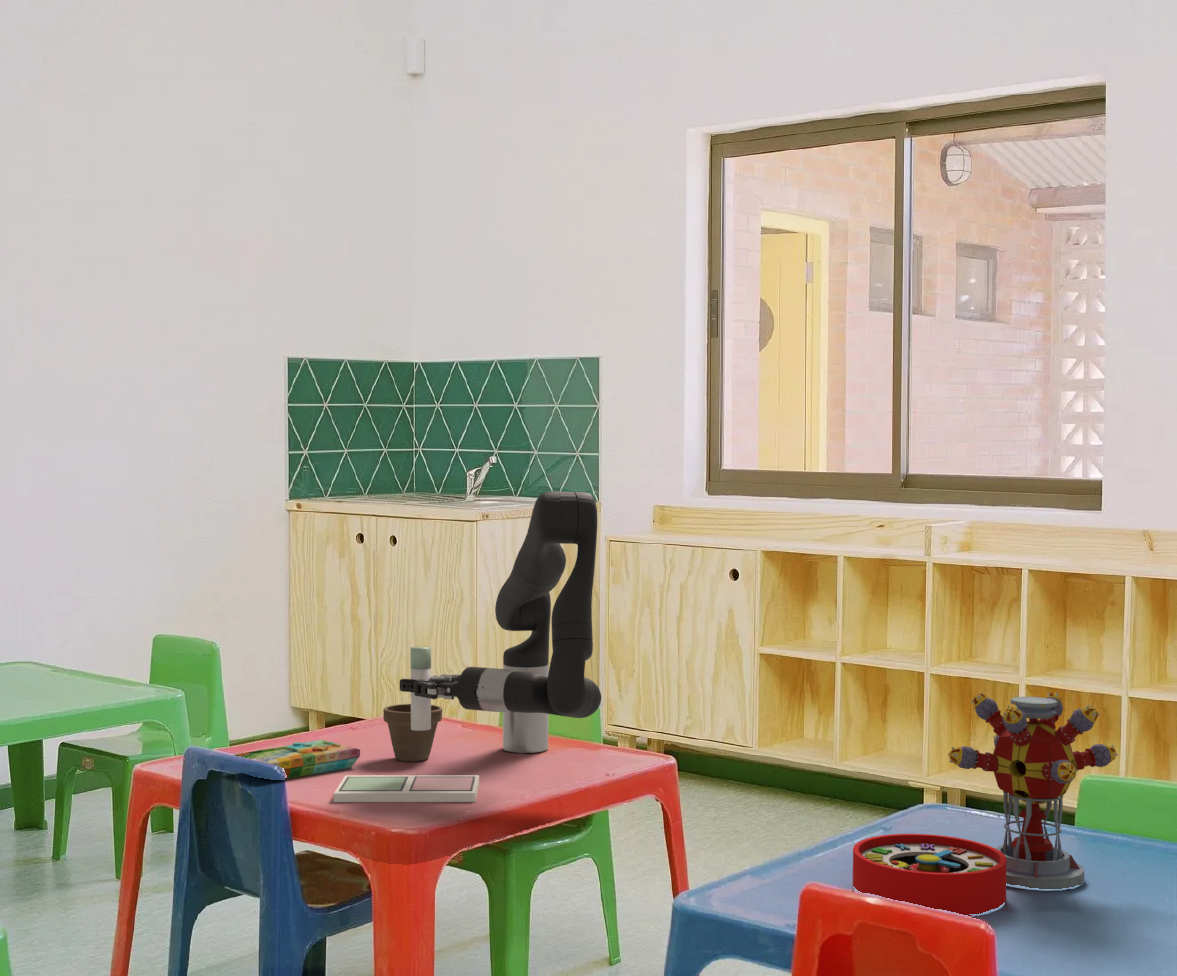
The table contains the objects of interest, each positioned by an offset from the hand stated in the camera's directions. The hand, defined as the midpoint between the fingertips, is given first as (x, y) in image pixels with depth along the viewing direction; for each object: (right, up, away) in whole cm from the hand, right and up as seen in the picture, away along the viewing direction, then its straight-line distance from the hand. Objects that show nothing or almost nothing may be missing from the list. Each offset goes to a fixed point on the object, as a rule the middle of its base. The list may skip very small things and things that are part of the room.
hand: (407, 683), depth 252 cm
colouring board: (+1, -18, -8) cm, 20 cm away
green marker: (+3, -8, -1) cm, 8 cm away
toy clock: (+78, -20, -65) cm, 104 cm away
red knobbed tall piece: (+95, -19, -57) cm, 112 cm away
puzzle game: (-22, -18, +10) cm, 30 cm away
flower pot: (-2, -18, +21) cm, 28 cm away
